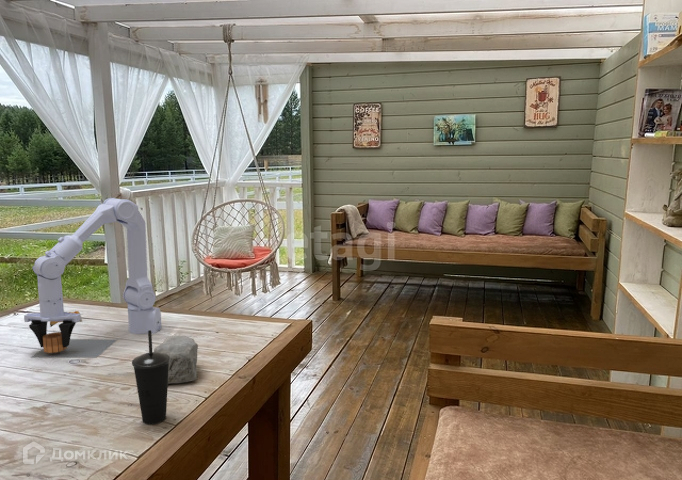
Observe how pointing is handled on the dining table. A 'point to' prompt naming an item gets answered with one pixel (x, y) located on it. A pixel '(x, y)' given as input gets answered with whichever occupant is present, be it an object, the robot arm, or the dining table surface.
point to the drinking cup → (152, 384)
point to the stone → (180, 358)
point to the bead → (53, 342)
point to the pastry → (62, 321)
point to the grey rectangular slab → (79, 349)
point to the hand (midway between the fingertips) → (55, 346)
